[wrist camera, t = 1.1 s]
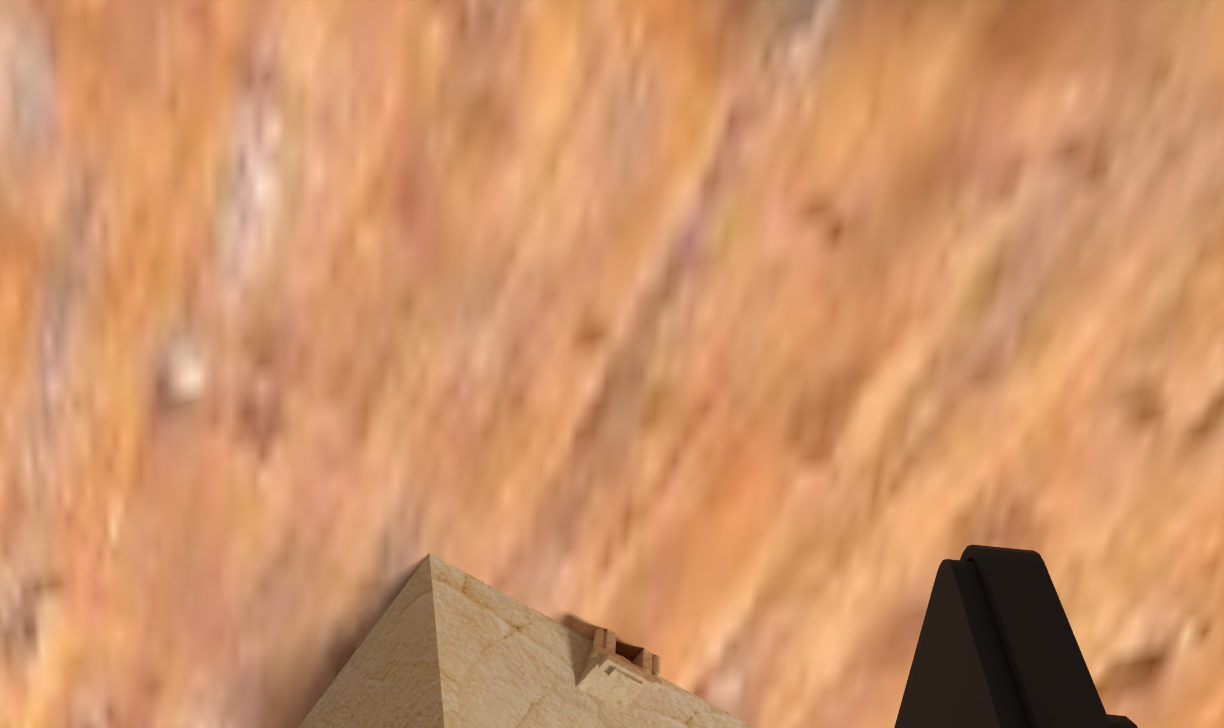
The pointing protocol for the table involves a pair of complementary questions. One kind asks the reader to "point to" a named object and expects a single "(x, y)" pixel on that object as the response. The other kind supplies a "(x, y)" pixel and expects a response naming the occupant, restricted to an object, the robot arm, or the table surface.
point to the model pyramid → (497, 669)
